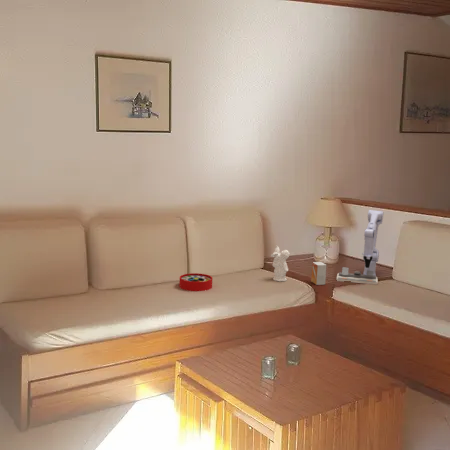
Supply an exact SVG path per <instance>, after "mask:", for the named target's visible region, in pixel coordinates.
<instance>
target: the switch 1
mask: <svg viewBox="0 0 450 450" xmlns="http://www.w3.org/2000/svg"><path fill="white" fill-rule="evenodd" d="M341 273H342V276H348V273H349V267H344V266H342V268H341Z"/></svg>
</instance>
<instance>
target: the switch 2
mask: <svg viewBox="0 0 450 450" xmlns="http://www.w3.org/2000/svg"><path fill="white" fill-rule="evenodd" d="M367 277H373V271H368V270H367Z"/></svg>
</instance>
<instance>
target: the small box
mask: <svg viewBox="0 0 450 450" xmlns="http://www.w3.org/2000/svg"><path fill="white" fill-rule="evenodd" d="M326 278H327V264H326V263H324V262H322V261H313V262H312V264H311V278H310V282H311V283H313V284H315V286H321V285H322V286H323V285H326Z"/></svg>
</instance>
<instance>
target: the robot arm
mask: <svg viewBox="0 0 450 450" xmlns="http://www.w3.org/2000/svg"><path fill="white" fill-rule="evenodd" d="M383 219H384V211H383V210H375V209H368V212H367V222H368V223H367V226H366V229H364V235H363V236H364V246H363V252H362V253H361V255H362V259H363V261H364V270H363V273H362V274H363V275H367V270H368V271H373V275H374V276H376V277H377V275H376V268H377V267H376V266H377V263H378V262H379V258H380V257H379V256H380V255H379V253H380V251H379V250H378V249H377V248H376V245H377V240H378V239H377V238H378V231H379V226H380V225H382V224H383V221H384V220H383Z"/></svg>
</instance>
